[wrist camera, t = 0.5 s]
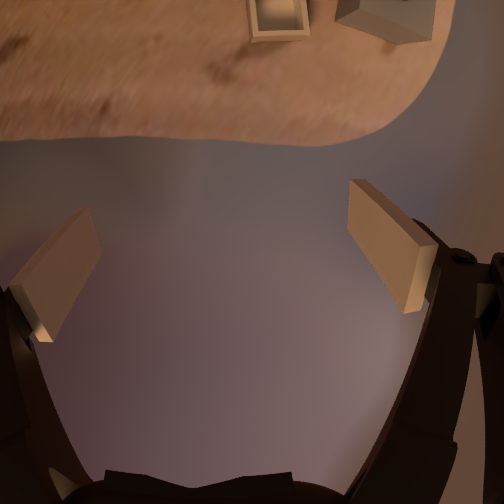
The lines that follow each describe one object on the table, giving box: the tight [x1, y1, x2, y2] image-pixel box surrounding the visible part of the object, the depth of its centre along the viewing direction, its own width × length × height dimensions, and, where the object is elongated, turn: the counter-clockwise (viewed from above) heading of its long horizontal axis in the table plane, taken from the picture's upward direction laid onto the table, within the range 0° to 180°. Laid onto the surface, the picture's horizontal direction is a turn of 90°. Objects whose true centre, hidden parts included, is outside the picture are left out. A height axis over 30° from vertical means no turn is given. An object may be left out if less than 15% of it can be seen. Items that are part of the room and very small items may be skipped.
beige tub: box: [246, 0, 310, 43], centre depth 27 cm, size 6×6×4 cm
